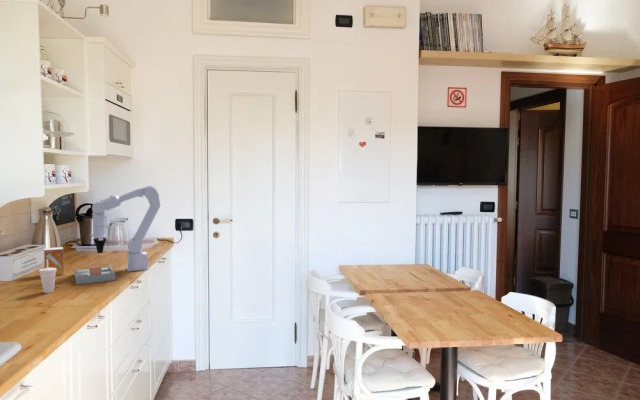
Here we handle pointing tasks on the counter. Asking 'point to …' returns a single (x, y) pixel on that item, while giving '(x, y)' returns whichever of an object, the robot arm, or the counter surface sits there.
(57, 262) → the small box
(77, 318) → the counter surface
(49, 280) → the smoothie
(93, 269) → the block
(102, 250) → the robot arm
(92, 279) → the trap board
